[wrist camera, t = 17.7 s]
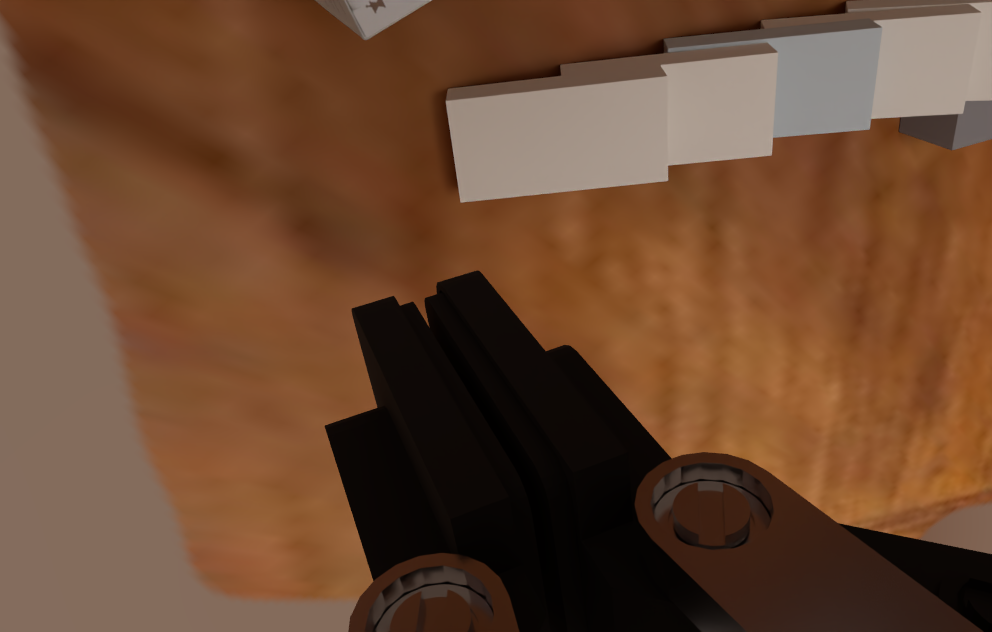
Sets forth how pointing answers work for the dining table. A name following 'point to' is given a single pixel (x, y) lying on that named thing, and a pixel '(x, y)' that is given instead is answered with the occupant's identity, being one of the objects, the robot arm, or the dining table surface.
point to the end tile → (560, 133)
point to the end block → (952, 126)
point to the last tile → (988, 66)
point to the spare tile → (812, 72)
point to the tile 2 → (711, 99)
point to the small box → (370, 13)
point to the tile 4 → (916, 57)
